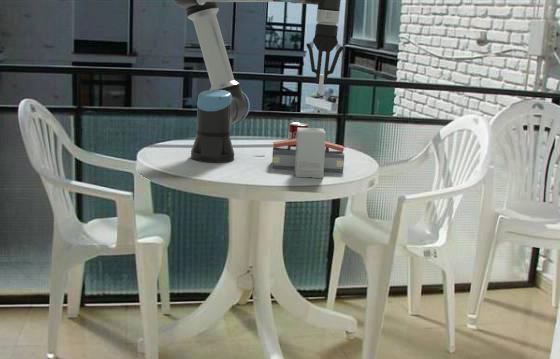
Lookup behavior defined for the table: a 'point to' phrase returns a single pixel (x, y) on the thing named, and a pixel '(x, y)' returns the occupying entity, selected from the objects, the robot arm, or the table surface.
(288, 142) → the left rocker
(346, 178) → the table surface
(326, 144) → the right rocker
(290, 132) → the soda can
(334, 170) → the switch unit
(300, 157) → the supplement box
